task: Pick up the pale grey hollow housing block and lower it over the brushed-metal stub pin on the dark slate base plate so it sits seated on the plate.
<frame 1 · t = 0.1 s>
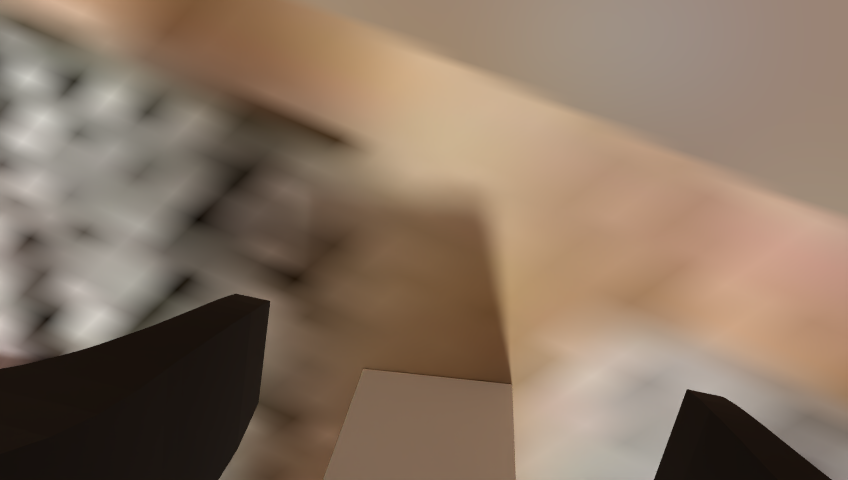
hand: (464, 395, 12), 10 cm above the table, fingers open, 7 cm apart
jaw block: (432, 439, 24), on the table
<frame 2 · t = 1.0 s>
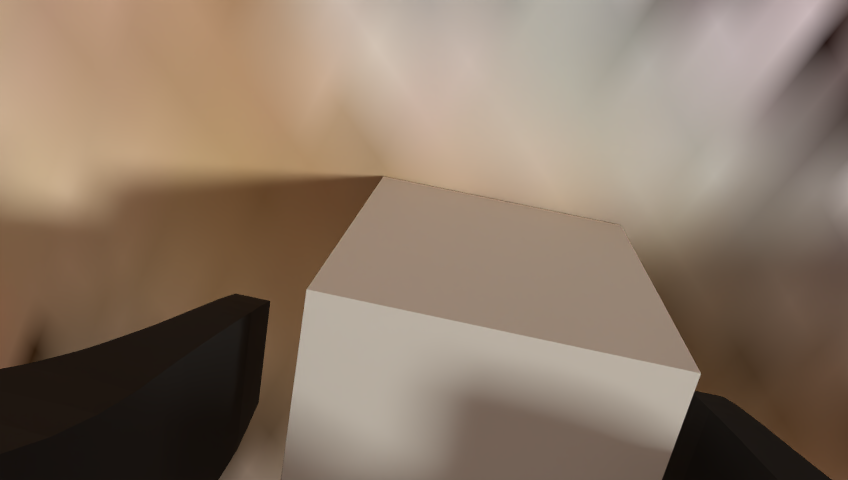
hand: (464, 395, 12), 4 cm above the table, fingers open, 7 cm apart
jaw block: (476, 308, 15), on the table
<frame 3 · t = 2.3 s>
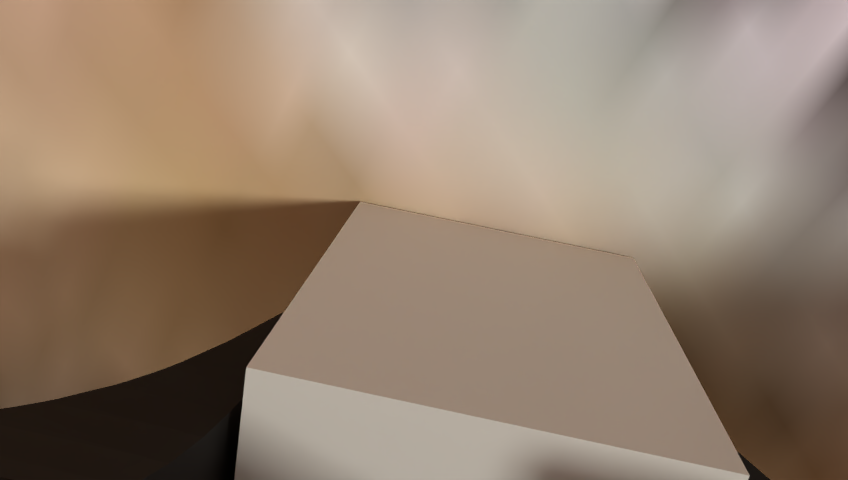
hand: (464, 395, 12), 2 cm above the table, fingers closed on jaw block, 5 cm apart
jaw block: (467, 350, 13), on the table, touching gripper
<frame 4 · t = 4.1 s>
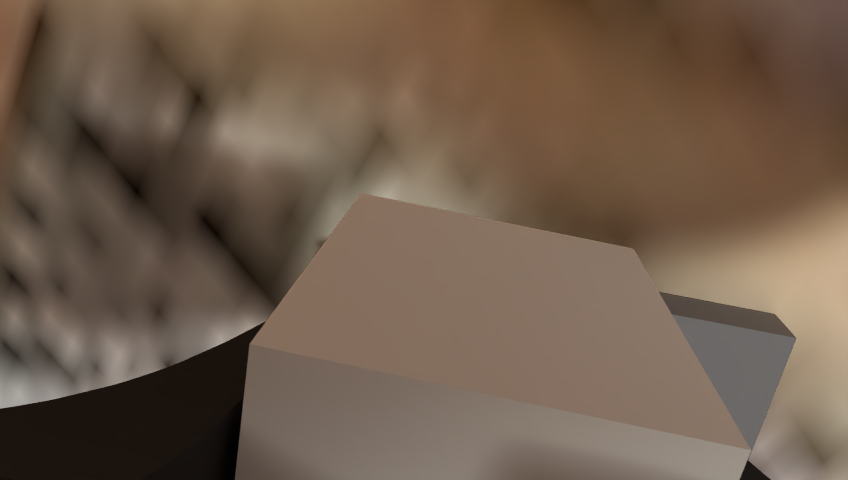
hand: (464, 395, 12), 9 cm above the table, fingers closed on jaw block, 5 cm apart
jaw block: (468, 342, 13), point 7 cm above the table, touching gripper
stub plate: (527, 443, 22), on the table
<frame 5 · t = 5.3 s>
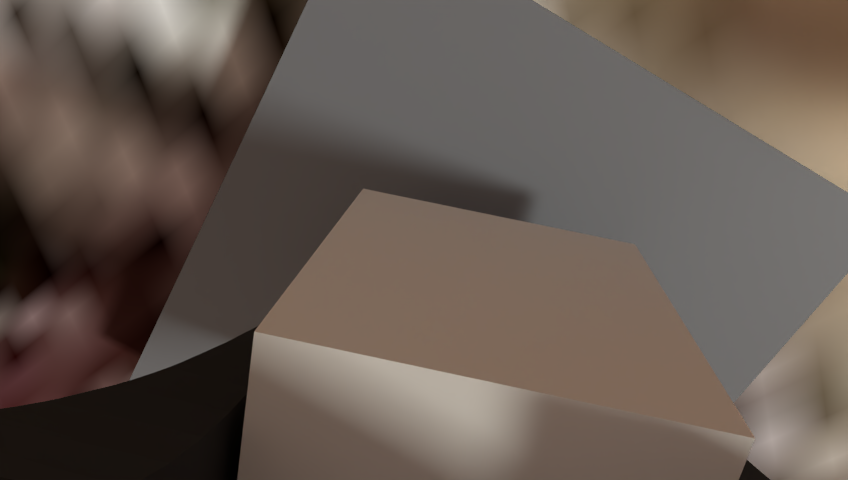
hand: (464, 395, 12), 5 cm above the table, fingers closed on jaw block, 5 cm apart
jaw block: (470, 338, 13), point 3 cm above the table, touching gripper
stub plate: (474, 282, 16), on the table
when the fingers open (5 cm above the table, at t = 6.3 s): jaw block drops 1 cm, resting on stub plate.
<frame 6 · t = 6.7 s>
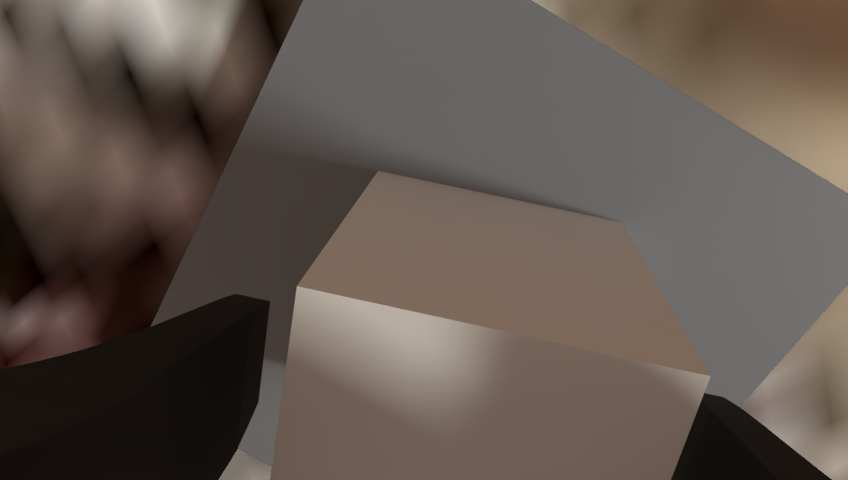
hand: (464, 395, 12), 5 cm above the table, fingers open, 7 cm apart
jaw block: (473, 307, 15), point 1 cm above the table, touching stub plate
stub plate: (473, 287, 16), on the table
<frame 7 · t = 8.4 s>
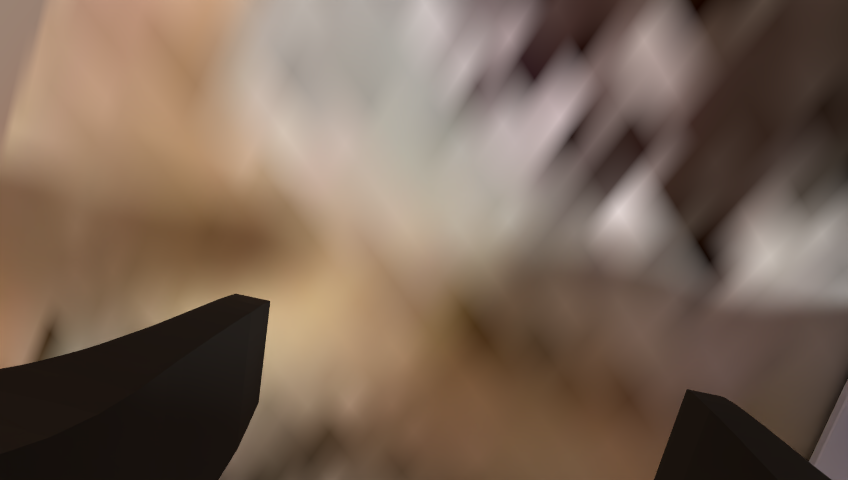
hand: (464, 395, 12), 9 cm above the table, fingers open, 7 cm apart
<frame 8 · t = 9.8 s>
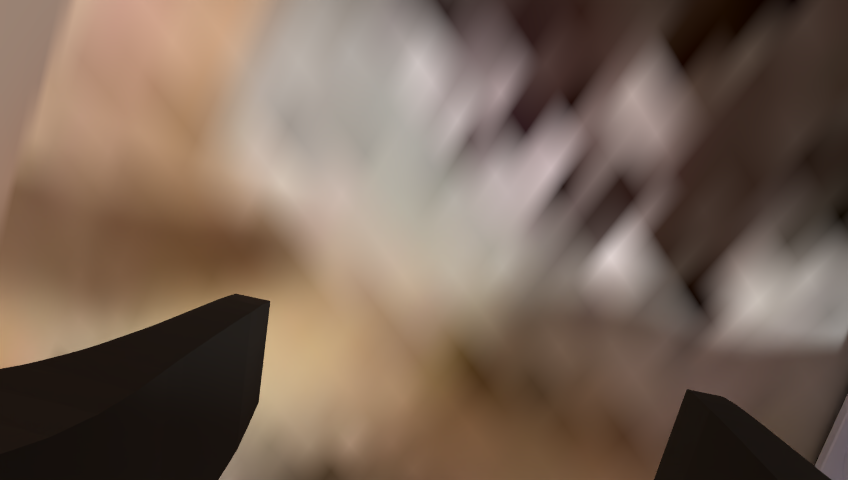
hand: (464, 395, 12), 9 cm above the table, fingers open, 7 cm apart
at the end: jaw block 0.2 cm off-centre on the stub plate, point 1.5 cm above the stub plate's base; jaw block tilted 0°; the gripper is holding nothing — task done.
